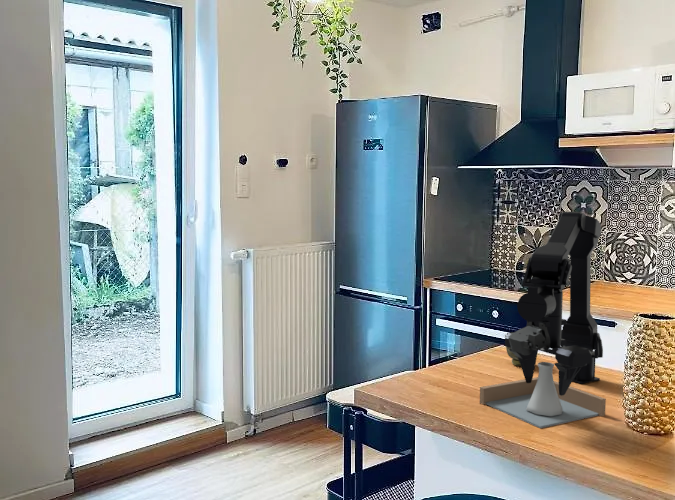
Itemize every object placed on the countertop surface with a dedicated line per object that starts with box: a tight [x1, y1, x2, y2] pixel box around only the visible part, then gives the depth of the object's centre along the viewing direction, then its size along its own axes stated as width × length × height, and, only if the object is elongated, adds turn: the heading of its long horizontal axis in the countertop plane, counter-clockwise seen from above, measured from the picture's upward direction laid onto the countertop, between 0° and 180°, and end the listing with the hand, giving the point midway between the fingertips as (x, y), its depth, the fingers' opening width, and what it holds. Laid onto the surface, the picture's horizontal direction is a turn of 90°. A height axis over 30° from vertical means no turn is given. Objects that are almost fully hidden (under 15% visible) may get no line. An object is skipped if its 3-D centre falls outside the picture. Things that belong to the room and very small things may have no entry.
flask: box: [526, 361, 563, 416], centre depth 132 cm, size 7×7×10 cm
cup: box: [504, 331, 521, 367], centre depth 170 cm, size 8×7×8 cm
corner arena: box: [479, 376, 607, 429], centre depth 135 cm, size 18×18×4 cm
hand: (544, 388), depth 132 cm, fingers open, 9 cm apart
